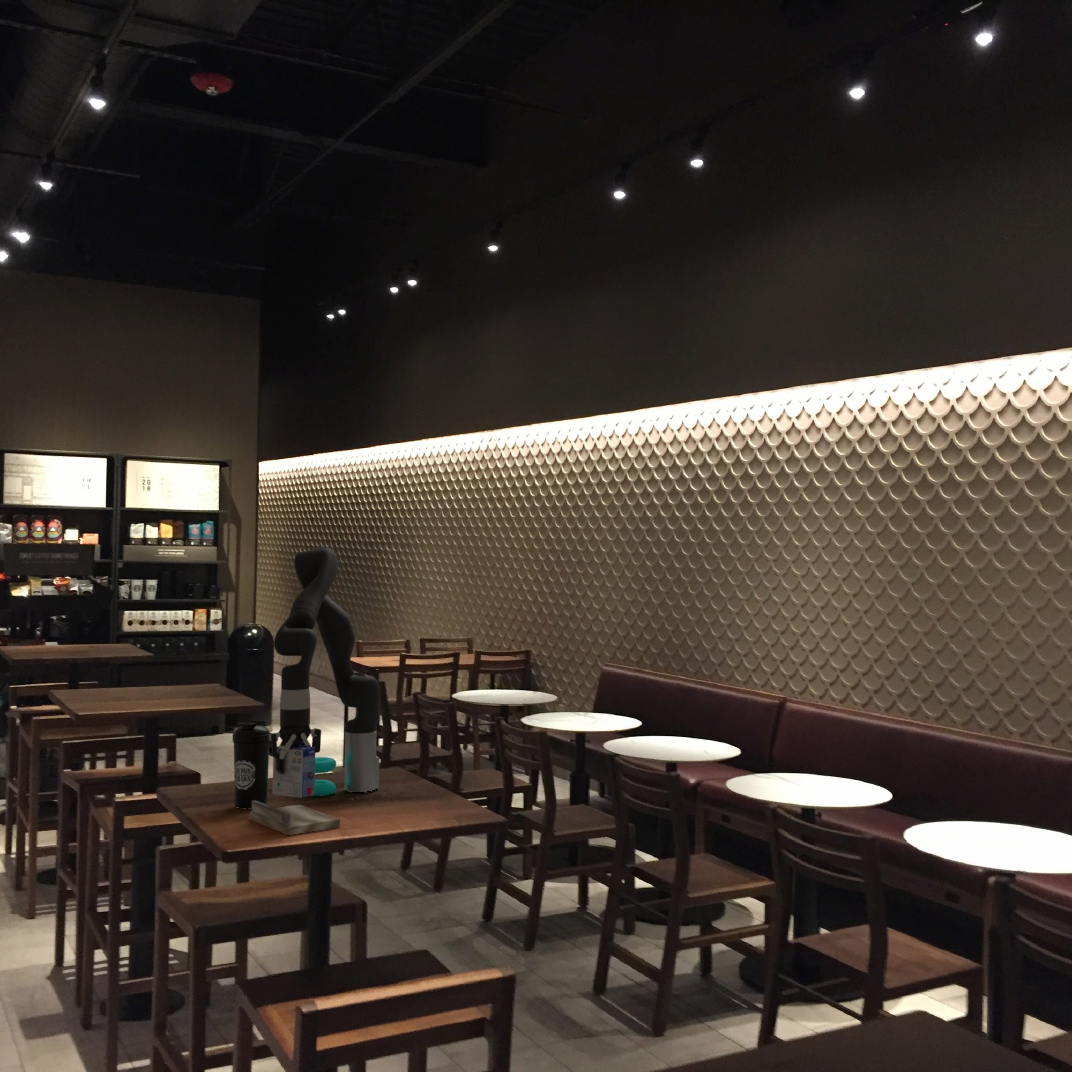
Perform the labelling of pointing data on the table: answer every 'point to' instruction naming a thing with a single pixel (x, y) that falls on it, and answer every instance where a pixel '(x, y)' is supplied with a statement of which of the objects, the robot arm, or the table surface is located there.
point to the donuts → (322, 767)
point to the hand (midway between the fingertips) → (294, 771)
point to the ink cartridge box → (296, 773)
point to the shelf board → (292, 818)
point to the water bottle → (251, 763)
